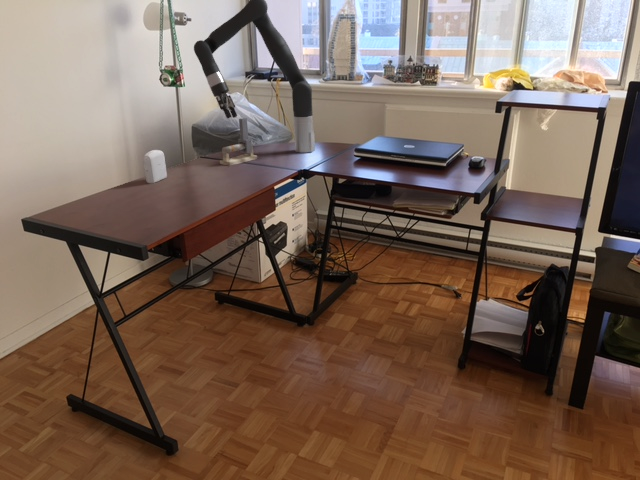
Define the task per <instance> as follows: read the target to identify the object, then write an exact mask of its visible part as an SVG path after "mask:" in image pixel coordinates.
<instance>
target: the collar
mask: <svg viewBox="0 0 640 480" xmlns="http://www.w3.org/2000/svg"><path fill="white" fill-rule="evenodd" d="M238 121H239V133H240V137H239V138H238V139H237V144H241V143H245V147H246V149H242V150H238V153H243V154H247V153H251V152H252V148H253V147H252V143H253V142H252V139H250V138H249V132H248V131H249V129H248V118H245V117H243V118H239V119H238ZM251 142H252V143H251Z"/></svg>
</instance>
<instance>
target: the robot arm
mask: <svg viewBox="0 0 640 480" xmlns="http://www.w3.org/2000/svg"><path fill="white" fill-rule="evenodd" d="M251 23H253V25H254V26H255V28H256V29H257V31H258V33H259V34H260V36H261V38H262V41H263V42H264V44H265V47H266V48H267V50H268V53H269V54H270V56H271V58H272V59H273V61H274V63H275V64H276V66H277V67H278V69H279V71H281V73H282V74H283V75H284V76H285V78H286V80H287V81H288V83H289V85H290V89H291V90H292V91H291V93H292V94H291V95H292V111H293V113H292V114H293V128H294V129H293V131H294V150H295V153H300V154H301V153H312V152H314V151H315V150H316V148H315V147H316V144H315V142H316V141H315V131H314V122H313V121H314V119H313V118H314V117H313V99H312V98H313V96H312V95H313V89H312V86H311V85H310V83H309V82H308V80H307V79H306V77H305V76H304V75H303V73H302V72H301V70H300V68H299V66H298V64H297V61H296V58H295V56H294V55H293V53H292V51H291V50H292V49H291V48H290V47H289V45H288V43H287V41H286V40H285V38H284V37H283V36H282V34H281V33H280V31H278V29H277V28H276V27H275V26H274V24H273V23H272V19H270V16H269V14H268V3H267V1H266V0H248V2H247V3H246V4H245V5H244V7H242V9H240V10H239V12H237V13H236V14H235V15H234V16H232V17H231V18H229V19H228V20H227V21H225V22H224V23H222V24H221V25H220V26H218V27H217V28H215V29H214V30H213V31H212V32H211V33H209V35H208V37H206V38H205V39H204V40H203V39H202V40H200V39H199V40H198V41H196V42H195V43H194V46H193V51H194V54H195V56H196V58H197V60H198V61H199V63H200V65H201V68H202V71H203V73H204V76H205V78H206V80H207V84H208V86H209V89H210V91H211V93H212V95H213V97H214V98H215V99H216V102H217V104H218V106H219V108H220V111H221V110H222V111H223V113H224V115H225V117H226V119H230V118H237V117H238V114H237V112H236V109H235V108H236V105H235V103H234V101H233V99H232V96H231V95H230V94H229V95H228V93H229V91H230V89H229V86H228V85H227V82H226V80H225V78H224V76H223V74H222V72H221V70H220V68H219V65H218V64H217V62H216V61H215V57H214V55H213V54H214V53H215V52H216V51H217V50H218V49H219V48H220V47H221V46H223V45H224V44H226V43H227V42H228V41H230V40H231V39H232V38H233V37H234V36H236V35H237V34H238V33H239V32H240V31H242V29H243V28H245V27H246V26H247V25H249V24H251Z"/></svg>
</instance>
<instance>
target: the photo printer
mask: <svg viewBox="0 0 640 480" xmlns="http://www.w3.org/2000/svg"><path fill="white" fill-rule="evenodd" d="M142 159H143V166H144V174H145V181H146V183H147V184H155V183H157V182H159V181H162V180H164V179H166V178H167V177H168V173H167V166H166V161H165V160H166V158H165V154H164V152H163V151H162V150H159V149H153V150H149V151H148V152H146V153H145V154H144V156H143V158H142Z"/></svg>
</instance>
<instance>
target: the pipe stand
mask: <svg viewBox="0 0 640 480" xmlns="http://www.w3.org/2000/svg"><path fill="white" fill-rule="evenodd" d="M251 143H252V152H251V153H244V154H242V155H241V154H240V155H237V156H233V157H230V153H233V152H239V150H242V149H246V147H245V143H241V144H238V143H237V144H233V145H232V144H231V145H229V146H223V147H222V148H221V151H222V159H221V160H219V164H221V165H223V166H224V165H225V166H234V165H238V164H242V163H246V162H249V161H254V160H257V159H258V155H256V154H254V147H253V146H254V143H253V141H251Z"/></svg>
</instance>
